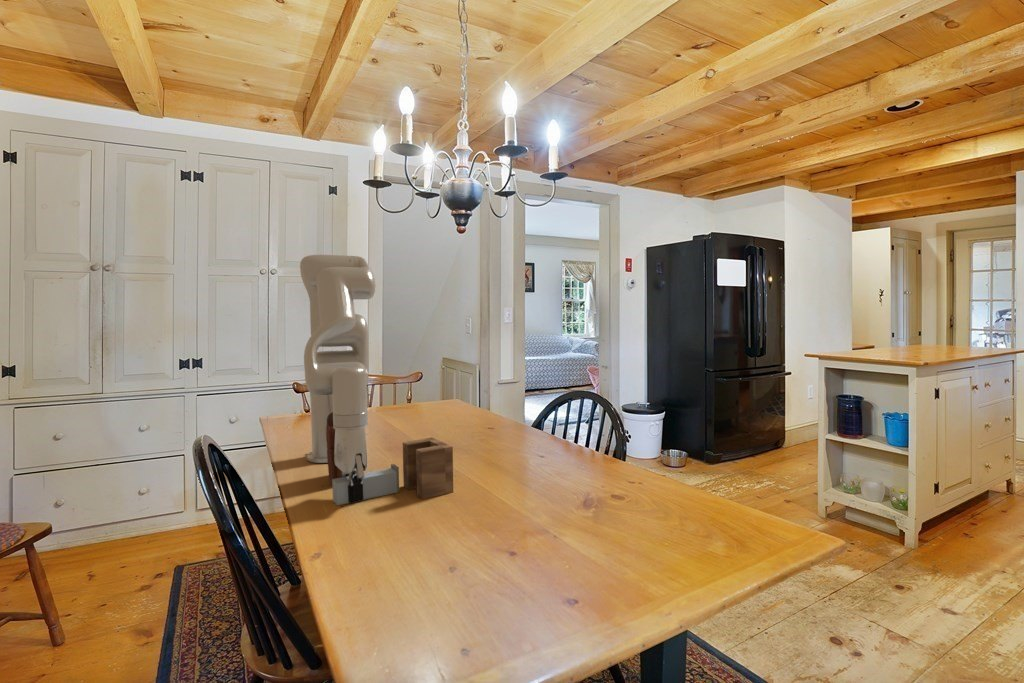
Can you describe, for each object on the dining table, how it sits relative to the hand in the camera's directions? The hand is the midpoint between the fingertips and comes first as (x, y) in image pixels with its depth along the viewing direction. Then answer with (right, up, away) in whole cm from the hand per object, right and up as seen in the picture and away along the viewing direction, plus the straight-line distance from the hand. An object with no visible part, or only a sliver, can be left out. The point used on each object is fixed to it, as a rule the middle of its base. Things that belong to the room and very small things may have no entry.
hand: (352, 497), depth 119 cm
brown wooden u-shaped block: (+16, 0, +6) cm, 17 cm away
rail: (+2, 0, +2) cm, 3 cm away
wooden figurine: (-7, 0, +14) cm, 16 cm away
